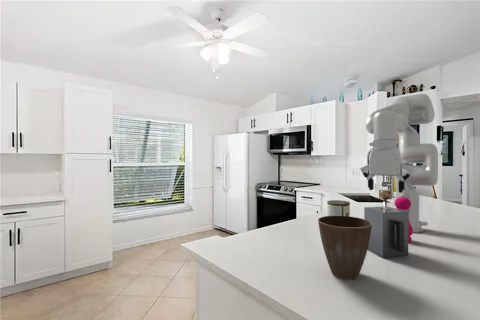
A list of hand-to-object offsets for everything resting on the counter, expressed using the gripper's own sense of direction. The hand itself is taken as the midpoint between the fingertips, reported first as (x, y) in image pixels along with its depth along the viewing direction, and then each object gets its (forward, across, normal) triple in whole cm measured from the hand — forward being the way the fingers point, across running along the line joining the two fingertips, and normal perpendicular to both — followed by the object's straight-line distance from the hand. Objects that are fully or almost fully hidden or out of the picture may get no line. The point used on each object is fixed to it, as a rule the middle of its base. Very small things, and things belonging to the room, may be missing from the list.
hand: (385, 190), depth 92 cm
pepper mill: (+23, +2, +19) cm, 30 cm away
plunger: (+17, 0, -1) cm, 17 cm away
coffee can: (+23, -24, +15) cm, 37 cm away
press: (+23, +1, -2) cm, 23 cm away
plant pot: (+22, -4, -29) cm, 37 cm away
